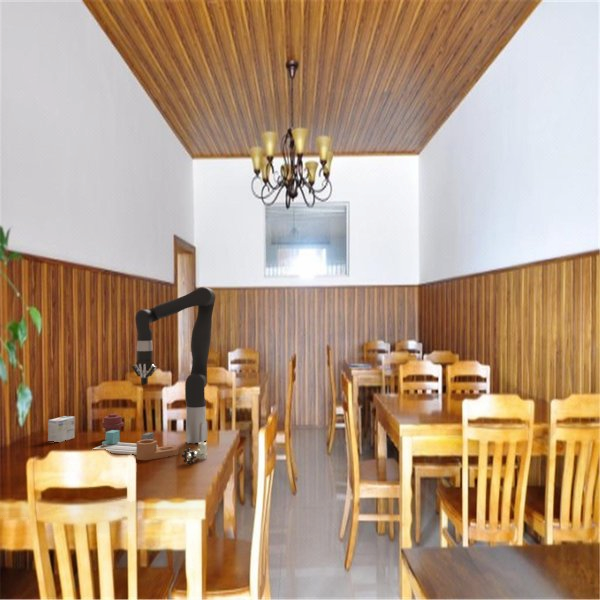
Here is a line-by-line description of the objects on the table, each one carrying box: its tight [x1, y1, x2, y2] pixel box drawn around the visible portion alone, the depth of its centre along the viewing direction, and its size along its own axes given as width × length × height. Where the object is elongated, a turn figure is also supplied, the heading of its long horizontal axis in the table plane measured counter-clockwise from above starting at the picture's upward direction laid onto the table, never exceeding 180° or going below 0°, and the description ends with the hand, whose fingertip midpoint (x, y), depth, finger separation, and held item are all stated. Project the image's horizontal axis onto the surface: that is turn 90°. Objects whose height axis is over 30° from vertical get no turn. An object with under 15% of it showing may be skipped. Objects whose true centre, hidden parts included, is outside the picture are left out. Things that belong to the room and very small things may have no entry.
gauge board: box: [92, 442, 159, 456], centre depth 223 cm, size 25×13×2 cm, turn 75°
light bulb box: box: [47, 415, 76, 443], centre depth 241 cm, size 11×7×11 cm, turn 160°
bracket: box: [135, 439, 179, 461], centre depth 213 cm, size 18×8×7 cm, turn 124°
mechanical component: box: [101, 413, 125, 436], centre depth 242 cm, size 12×10×10 cm
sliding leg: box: [101, 430, 121, 447], centre depth 226 cm, size 4×9×5 cm, turn 166°
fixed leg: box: [141, 431, 155, 440], centre depth 221 cm, size 3×9×6 cm, turn 165°
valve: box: [181, 441, 208, 465], centre depth 206 cm, size 7×7×12 cm
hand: (144, 385), depth 241 cm, fingers closed
